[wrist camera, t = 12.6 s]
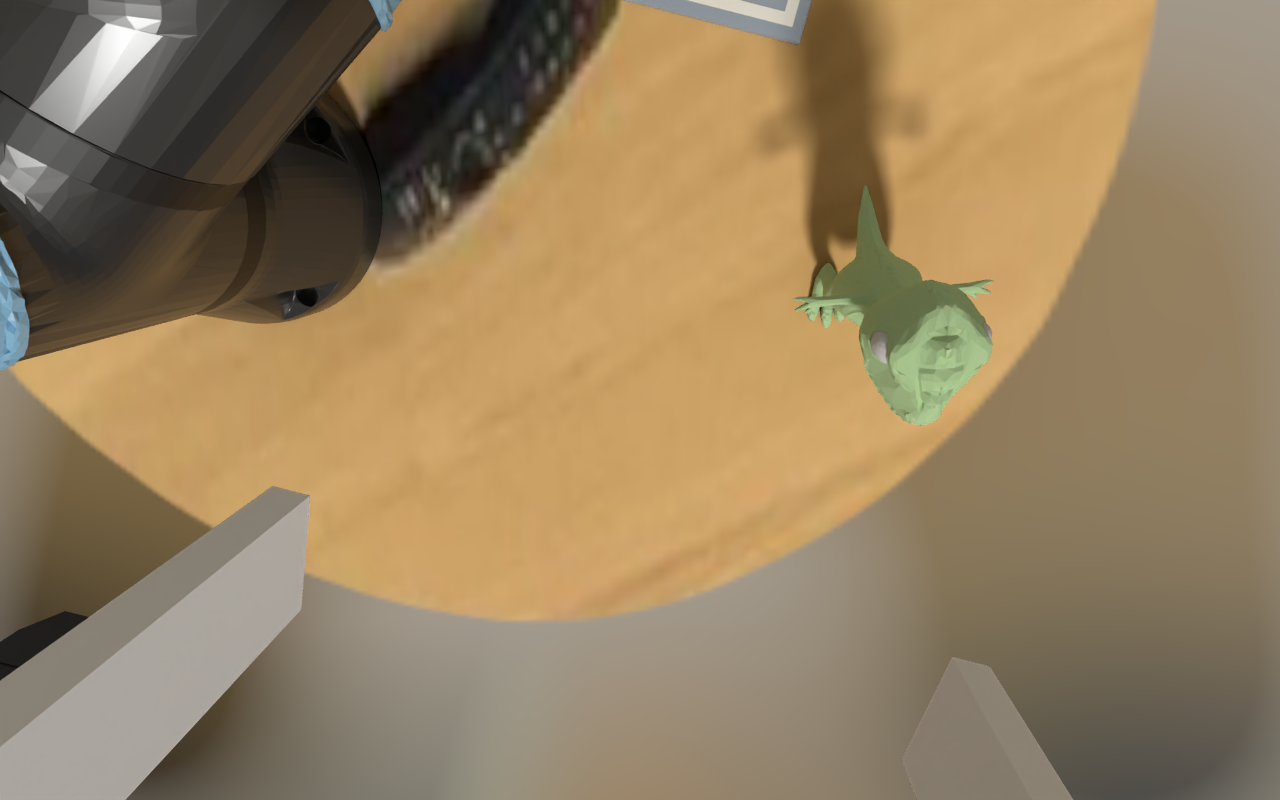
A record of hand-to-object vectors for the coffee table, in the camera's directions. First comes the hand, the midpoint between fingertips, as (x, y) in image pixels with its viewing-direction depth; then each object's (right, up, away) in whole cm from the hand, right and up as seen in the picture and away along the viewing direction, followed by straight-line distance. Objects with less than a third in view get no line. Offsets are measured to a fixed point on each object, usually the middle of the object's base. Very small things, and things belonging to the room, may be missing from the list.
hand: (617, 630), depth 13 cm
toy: (+13, +12, +25) cm, 31 cm away
